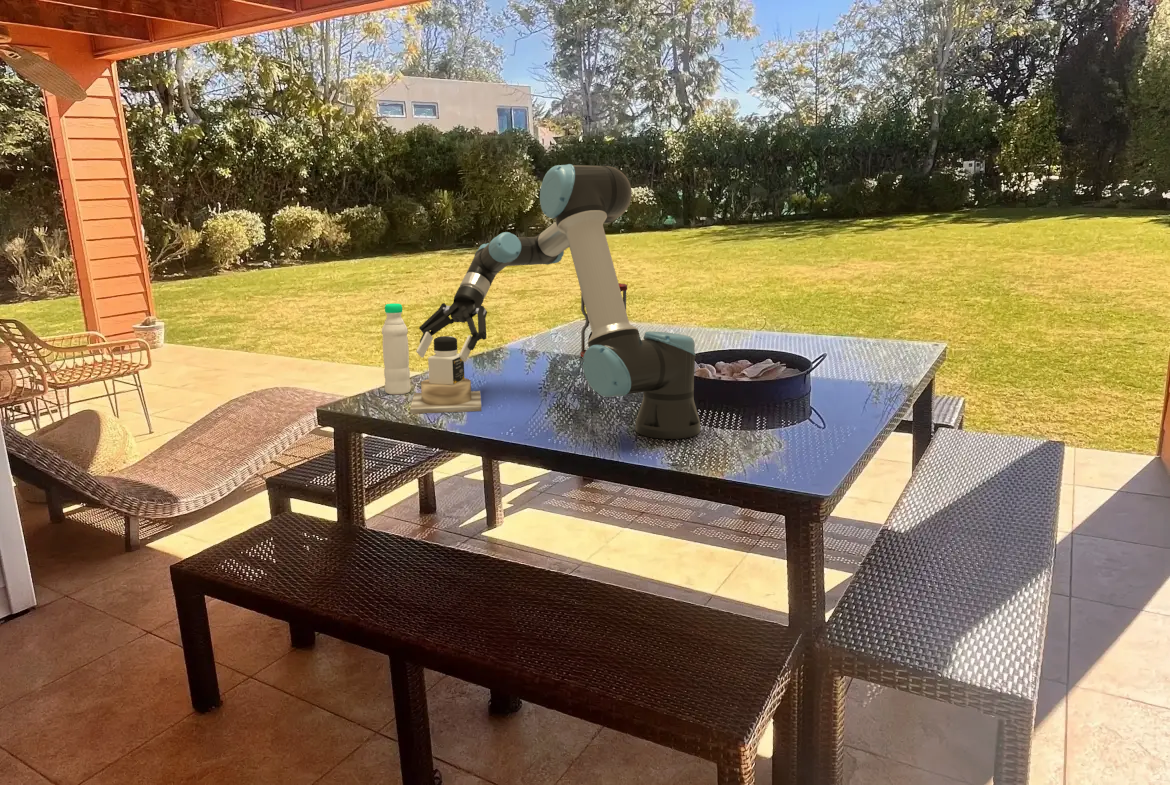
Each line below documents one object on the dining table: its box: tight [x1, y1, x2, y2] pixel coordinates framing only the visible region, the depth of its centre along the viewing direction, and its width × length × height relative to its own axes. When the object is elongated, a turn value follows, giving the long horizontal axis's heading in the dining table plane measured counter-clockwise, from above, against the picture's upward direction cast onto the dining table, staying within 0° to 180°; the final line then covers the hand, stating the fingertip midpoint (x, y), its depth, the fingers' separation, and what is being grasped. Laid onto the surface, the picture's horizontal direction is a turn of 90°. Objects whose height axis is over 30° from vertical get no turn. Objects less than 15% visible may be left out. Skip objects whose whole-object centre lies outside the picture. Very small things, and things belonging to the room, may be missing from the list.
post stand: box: [409, 377, 482, 415], centre depth 219 cm, size 18×18×6 cm
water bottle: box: [381, 302, 412, 396], centre depth 231 cm, size 7×7×25 cm
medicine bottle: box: [427, 335, 466, 385], centre depth 217 cm, size 7×7×12 cm
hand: (440, 356), depth 215 cm, fingers open, 13 cm apart
